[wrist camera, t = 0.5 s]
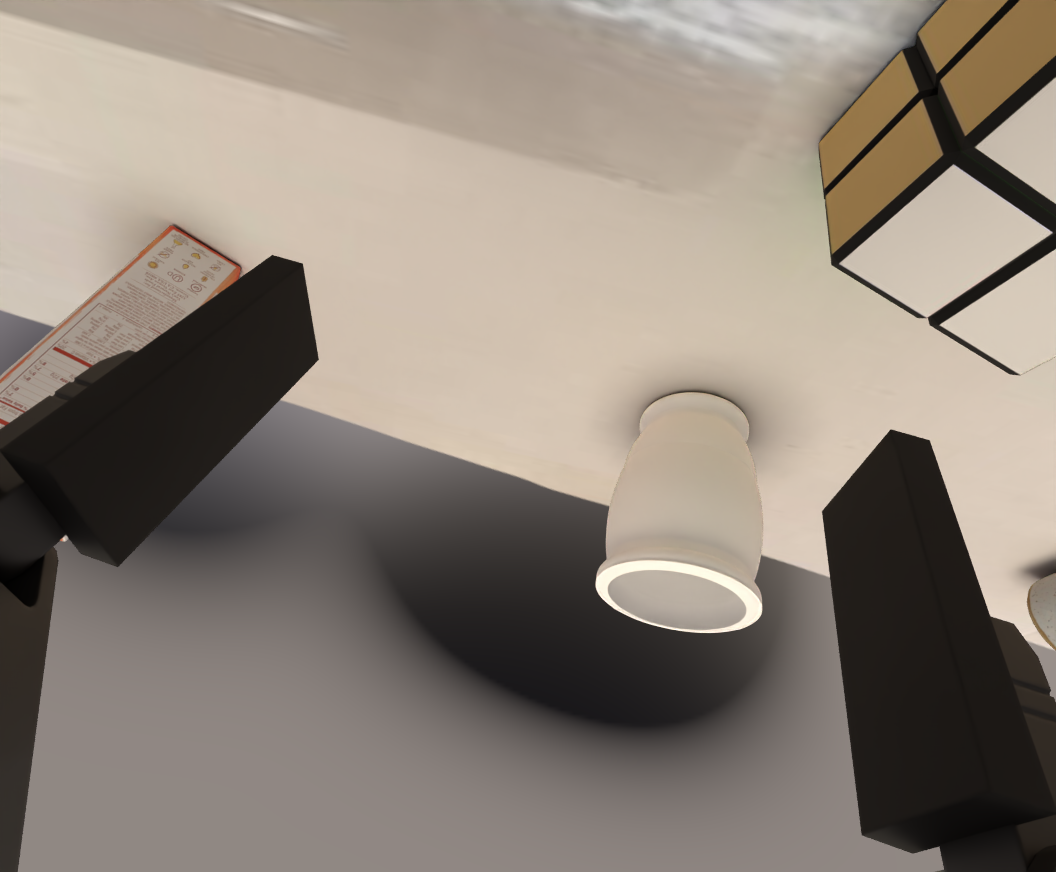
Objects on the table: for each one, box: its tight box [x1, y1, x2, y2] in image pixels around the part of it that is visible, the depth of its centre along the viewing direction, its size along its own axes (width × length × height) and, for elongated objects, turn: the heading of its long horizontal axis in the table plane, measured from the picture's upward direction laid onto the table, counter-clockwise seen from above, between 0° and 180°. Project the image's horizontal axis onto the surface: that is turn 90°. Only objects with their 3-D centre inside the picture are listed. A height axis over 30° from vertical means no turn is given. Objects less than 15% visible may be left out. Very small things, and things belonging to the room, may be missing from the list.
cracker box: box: [0, 226, 241, 541], centre depth 42 cm, size 14×6×21 cm, turn 146°
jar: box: [596, 392, 763, 633], centre depth 40 cm, size 11×10×15 cm
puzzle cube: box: [819, 0, 1056, 375], centre depth 21 cm, size 10×10×10 cm
